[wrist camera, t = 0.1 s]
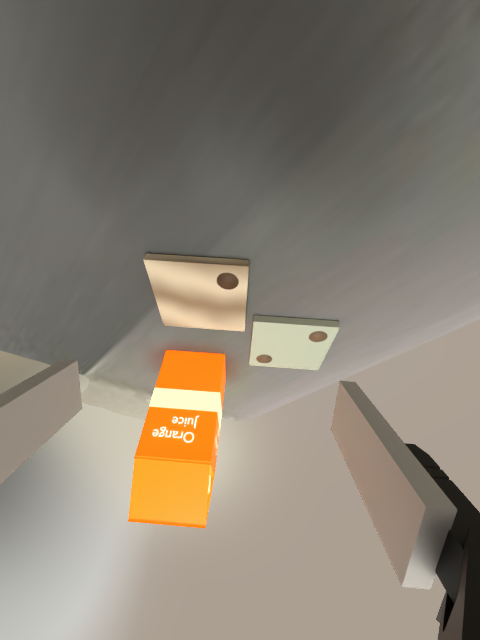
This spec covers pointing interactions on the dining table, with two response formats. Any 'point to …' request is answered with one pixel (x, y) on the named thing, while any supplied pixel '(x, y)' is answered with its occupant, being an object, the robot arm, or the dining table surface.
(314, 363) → the tile two
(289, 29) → the dining table surface
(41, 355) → the dining table surface
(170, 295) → the tile one
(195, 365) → the orange juice
